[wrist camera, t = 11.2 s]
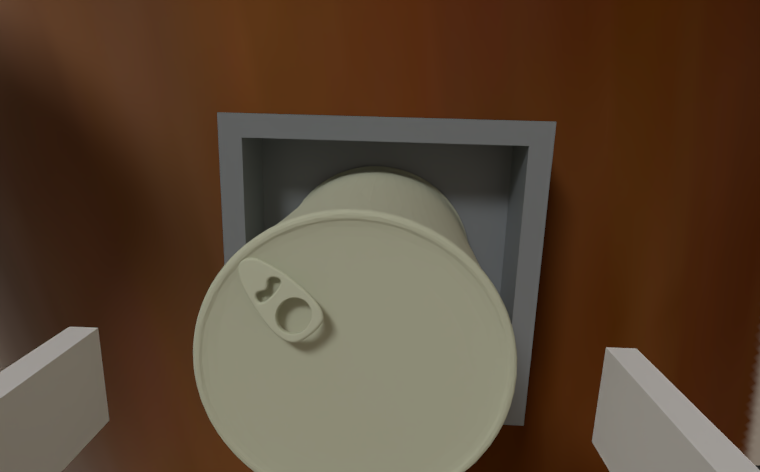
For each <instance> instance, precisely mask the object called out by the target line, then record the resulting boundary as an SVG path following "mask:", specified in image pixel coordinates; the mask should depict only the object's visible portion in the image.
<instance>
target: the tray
mask: <svg viewBox="0 0 760 472" xmlns="http://www.w3.org/2000/svg"><path fill="white" fill-rule="evenodd" d="M217 120H218V141H219V161H220V182H221V202H222V223H223V243H224V264H226V263H227V262H228V261H229V259H230V258H231V257H232V256H233V255H234V254H235V253H236V252H237V251H238V250H239V249H241V248H242V247H243V246H244V245H245V244H246V243H248V242H249V241H251V240H252V239H253V238H255V237H256V236H258V235H259V234H261V233H262V232H264V231H265V230H267V229H269V228H271V227H273V226H275V225H276V224H278V223H279V222H280V221H282V220H283V219H284V218H286V217H287V216H288V215H289V214H291V213H292V212H293V211H294V210H295V209H297V208H298V207H299V206H300V204H301V203H302V201H303V200H304V199H305V198H306V197H307V196H308V195H309V193H310V192H311V191H313V190H314V189H315V188H316V187H317V186H318V185H320V184H321V183H322V182H324V181H326V180H327V179H329V178H331V177H333V176H335V175H337V174H339V173H341V172H344V171H347V170H350V169H355V168H360V167H368V166H382V167H391V168H396V169H400V170H404V171H407V172H409V173H412V174H414V175H417V176H419V177H421V178H422V179H424V180H426V181H427V182H429V183H430V184H432V185H433V186H434V187H435V188H437V189H438V190H439V191H440V192H441V193H442V194H443V195H444V196H445V197H446V198H447V199H448V200H449V202H450V203H451V204H452V206H453V207H454V208H455V210H456V212H457V213H458V215H459V217H460V219H461V221H462V223H463V226H464V229H465V232H466V236H467V240H468V244H469V246H470V248H471V250H472V252H473V253H474V255H475V257H476V259H477V261H478V263H479V265H480V267H481V269H482V270H483V271H484V272H485V274H486V275H487V276H488V278H489V279H490V280H491V282H492V283H493V285H494V286H495V288H496V290H497V291H498V293H499V295H500V297H501V299H502V301H503V303H504V305H505V307H506V310H507V312H508V315H509V318H510V321H511V324H512V327H513V332H514V336H515V342H516V350H517V378H516V385H515V391H514V395H513V399H512V403H511V406H510V409H509V412H508V414H507V417H506V419H505V422H504V424H503V425H520V426H524V418H525V409H526V400H527V390H528V381H529V372H530V362H531V353H532V344H533V334H534V325H535V316H536V306H537V297H538V288H539V278H540V269H541V260H542V250H543V241H544V232H545V222H546V213H547V204H548V194H549V185H550V176H551V166H552V157H553V148H554V138H555V129H556V122H547V121H511V120H474V119H438V118H401V117H365V116H328V115H292V114H256V113H219V112H217Z"/></svg>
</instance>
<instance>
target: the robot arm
mask: <svg viewBox="0 0 760 472" xmlns="http://www.w3.org/2000/svg"><path fill="white" fill-rule="evenodd" d="M108 421H109V413H108V405H107V397H106V388H105V380H104V372H103V364H102V356H101V347H100V339H99V331H98V328H92V327H68V328H66V329H65V330H63V331H62V332H60V333H59V334H57V335H56V336H54V337H53V338H51V339H50V340H48V341H47V342H45V343H44V344H42V345H40V346H39V347H37V348H36V349H34V350H33V351H31V352H30V353H28V354H27V355H25V356H24V357H22V358H21V359H19V360H18V361H16V362H15V363H13V364H12V365H10V366H8V367H7V368H5V369H4V370H2V371H1V372H0V472H62V471H63V470H64V469H65V468H66V467H67V465H68V464H69V463H70V462H71V461H72V460H73V459H74V458H75V457H76V456H77V455H78V454H79V453H80V452H81V450H82V449H83V448H84V447H85V446H86V445H87V444H88V443H89V442H90V441H91V440H92V439H93V438H94V437H95V435H96V434H97V433H98V432H99V431H100V430H101V429H102V428H103V427H104V426H105V425H106V424H107V423H108ZM592 443H593V444H594V446H595V448H596V449H597V451H598V453H599V454H600V456H601V458H602V459H603V461H604V463H605V464H606V466H607V468H608V470H609V471H610V472H760V466H755V465H754V464H753V463H752V462H751V461H750V460H749V459H748V458H747V457H746V456H745V455H744V454H743V453H742V452H741V451H740V450H739V449H738V448H737V447H736V446H735V445H734V444H733V443H732V442H731V441H730V440H729V439H728V438H727V437H726V436H725V435H724V434H723V433H722V432H721V431H720V430H719V429H718V428H716V427H715V426H714V425H713V424H712V423H711V422H710V421H709V420H708V419H707V418H706V417H705V416H704V415H703V414H702V413H701V412H700V411H699V410H698V409H697V408H696V407H695V406H694V405H693V404H692V403H691V402H690V401H689V400H688V399H687V398H686V397H685V396H684V395H683V394H682V393H681V392H680V391H679V390H678V389H677V388H676V387H675V386H674V385H673V384H672V383H671V382H670V381H669V380H668V379H667V378H666V377H665V376H664V375H663V374H662V373H661V372H660V371H659V370H658V369H657V368H656V367H655V366H654V365H653V364H652V363H651V362H650V361H649V360H648V359H647V358H646V357H645V356H644V355H643V354H641V353H640V352H639V351H638V350H637V349H634V348H608V347H606V351H605V358H604V364H603V371H602V378H601V384H600V391H599V398H598V404H597V411H596V418H595V424H594V431H593V438H592Z"/></svg>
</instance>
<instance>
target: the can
mask: <svg viewBox="0 0 760 472" xmlns="http://www.w3.org/2000/svg"><path fill="white" fill-rule="evenodd" d="M193 364H194V373H195V379H196V384H197V388H198V391H199V395H200V398H201V401H202V404H203V406H204V408H205V410H206V413H207V415H208V417H209V419H210V421H211V423H212V424H213V426H214V428H215V429H216V431H217V433H218V434H219V436H220V437H221V438H222V440H223V441H224V442H225V443H226V445H227V446H228V447H229V448H230V449H231V450H232V452H233V453H234V454H235V455H236V456H237V457H238V458H239V459H240V460H241V461H242V462H243V463H244V464H246V465H247V466H248V467H249V468H250V469H252V470H253V471H254V472H465V471H466V470H467V469H469V468H470V467H471V466H472V465H473V464H474V463H475V462H476V461H477V460H478V459H479V458H480V457H481V456H482V455H483V453H484V452H485V451H486V450H487V449H488V448H489V446H490V445H491V443H492V442H493V441H494V439H495V438H496V436H497V435H498V433H499V431H500V429H501V427H502V425H503V424H504V422H505V419H506V417H507V414H508V412H509V409H510V406H511V403H512V399H513V395H514V391H515V385H516V378H517V350H516V342H515V336H514V332H513V327H512V324H511V321H510V318H509V315H508V312H507V310H506V307H505V305H504V303H503V301H502V299H501V297H500V295H499V293H498V291H497V290H496V288H495V286H494V285H493V283H492V282H491V280H490V279H489V278H488V276H487V275H486V274H485V272H484V271H483V270H482V269H481V267H480V265H479V263H478V261H477V259H476V257H475V255H474V253H473V252H472V250H471V248H470V246H469V244H468V240H467V236H466V232H465V229H464V226H463V223H462V221H461V219H460V217H459V215H458V213H457V212H456V210H455V208H454V207H453V206H452V204H451V203H450V202H449V200H448V199H447V198H446V197H445V196H444V195H443V194H442V193H441V192H440V191H439V190H438V189H437V188H435V187H434V186H433V185H432V184H430V183H429V182H427V181H426V180H424V179H422V178H421V177H419V176H417V175H414V174H412V173H409V172H407V171H404V170H400V169H396V168H391V167H382V166H368V167H360V168H355V169H350V170H347V171H344V172H341V173H339V174H337V175H335V176H333V177H331V178H329V179H327V180H326V181H324V182H322V183H321V184H320V185H318V186H317V187H316V188H315V189H314V190H313V191H311V192H310V193H309V195H308V196H307V197H306V198H305V199H304V200H303V201H302V203H301V204H300V206H299V207H298V208H297V209H295V210H294V211H293V212H292V213H291V214H289V215H288V216H287V217H286V218H284V219H283V220H282V221H280V222H279V223H278V224H276V225H275V226H273V227H271V228H269V229H267V230H265V231H264V232H262V233H261V234H259V235H258V236H256V237H255V238H253V239H252V240H251V241H249V242H248V243H246V244H245V245H244V246H243V247H242V248H241V249H239V250H238V251H237V252H236V253H235V254H234V255H233V256H232V257H231V258H230V259H229V261H228V262H227V263H226V264H225V265H224V267H223V268H222V269H221V271H220V272H219V273H218V275H217V276H216V278H215V279H214V281H213V282H212V284H211V286H210V288H209V290H208V292H207V294H206V296H205V298H204V300H203V303H202V305H201V308H200V311H199V314H198V318H197V322H196V327H195V333H194V342H193Z"/></svg>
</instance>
